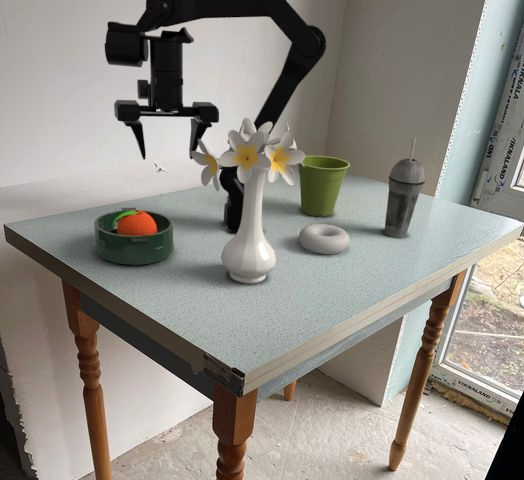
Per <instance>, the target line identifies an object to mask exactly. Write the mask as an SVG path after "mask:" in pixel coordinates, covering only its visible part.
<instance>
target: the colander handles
mask: <svg viewBox="0 0 524 480" xmlns="http://www.w3.org/2000/svg"><path fill="white" fill-rule="evenodd" d="M121 210H137V208H136V207H121ZM131 242H132V245H149V241H148V238H147V237H139V238H131Z"/></svg>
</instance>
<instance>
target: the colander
mask: <svg viewBox="0 0 524 480" xmlns="http://www.w3.org/2000/svg"><path fill="white" fill-rule="evenodd" d="M139 210H140V211H143V212H145V213H147V214H148V215H150V216H151V217H152V219H153V220H154V222H155V224H156V227H157V233H155V234H150V235H142V236H127V235H119V234H117V225H118V222H119V220H120V218H119V219H117V220H116V221H115V222H114V220H115V219H116V218H117V217H118V216H119V215H121V214H122V213H125V212H128V211H132V210H122V209H121V210H114V211H110V212H107V213H103V214H101V215H100V216H98V217H96V218H95V220H94V222H93V226H94V239H95V250H96V254H97V255H98V256H100V258H102V259H104V260H106V261H108V262H112V263H114V264H115V263H116V264H122V265H133V266H135V265H136V266H137V265H138V266H139V265H148V264H154V263H158V262H162V261H164V260H166V259H167V258H169V257H171V256H172V254H173V252H174V222H173V220H172V219H171V218H170V217H169V216H167V215H165V214H162V213H159V212H155V211H152V210H151V211H150V210H143V209H139ZM113 222H114V224H113ZM112 225H113V226H112ZM139 237H147V238H148V241H149V245H132V242H131V238H139Z"/></svg>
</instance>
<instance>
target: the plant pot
mask: <svg viewBox="0 0 524 480" xmlns="http://www.w3.org/2000/svg"><path fill="white" fill-rule="evenodd" d="M303 164H304V167H303V166H302V165H301V164H300V163H299V164H297V166H298V167H297V168H298V174H299V187H300V208H301V211H302V213H304V214H306V215H310V216H312V217H318V216H322V217H329V216H331V215H333V213H334V211H335V208H336V203H337V201H338V197H339V193H340V191H341V187H342V184H343V181H344V178H346V173H347V171H348V169H349V168H350V167H351V163H350V162H349V161H347V160H345V159H341V158H338V157H332V156H326V155H305V158H304V160H303Z"/></svg>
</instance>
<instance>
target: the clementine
mask: <svg viewBox="0 0 524 480" xmlns="http://www.w3.org/2000/svg"><path fill="white" fill-rule="evenodd" d="M140 210H141V209H136V210H132V211H128V212H125V213H122V214H121V215H119V216H118V217H117V218H116V219H115V220H114V222H115V221H116V220H117V219H119V218H120V220H119V222H118V225H117V234H119V235H127V236H142V235H150V234H155V233H157V227H156V224H155V222H154V220H153V219H152V217H151V216H150V215H148V214H147V213H145V212H143V211H140ZM114 222H113V224H114ZM112 226H113V225H112Z"/></svg>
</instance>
